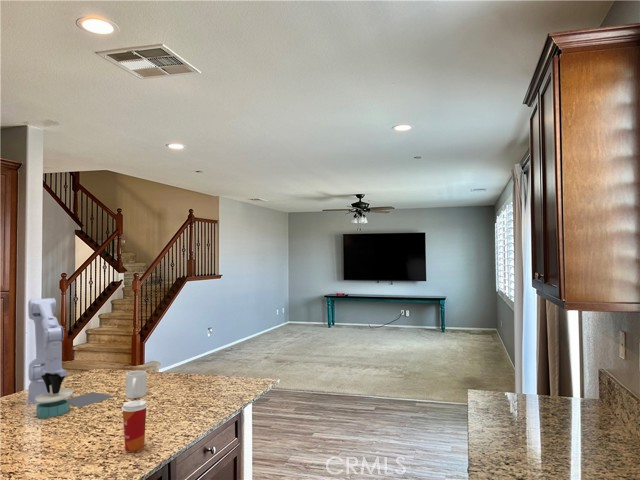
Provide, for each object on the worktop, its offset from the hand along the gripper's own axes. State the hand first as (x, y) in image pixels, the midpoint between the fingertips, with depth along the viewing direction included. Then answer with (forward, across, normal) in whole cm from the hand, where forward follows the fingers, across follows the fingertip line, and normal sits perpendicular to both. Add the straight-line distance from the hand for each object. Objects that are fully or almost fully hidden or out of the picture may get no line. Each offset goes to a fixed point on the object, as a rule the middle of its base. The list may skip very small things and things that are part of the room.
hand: (53, 392), depth 180 cm
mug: (+8, +12, +29) cm, 32 cm away
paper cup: (+8, +57, -7) cm, 58 cm away
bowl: (+8, 0, 0) cm, 8 cm away
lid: (+2, 0, 0) cm, 2 cm away
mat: (+8, -4, +17) cm, 19 cm away
